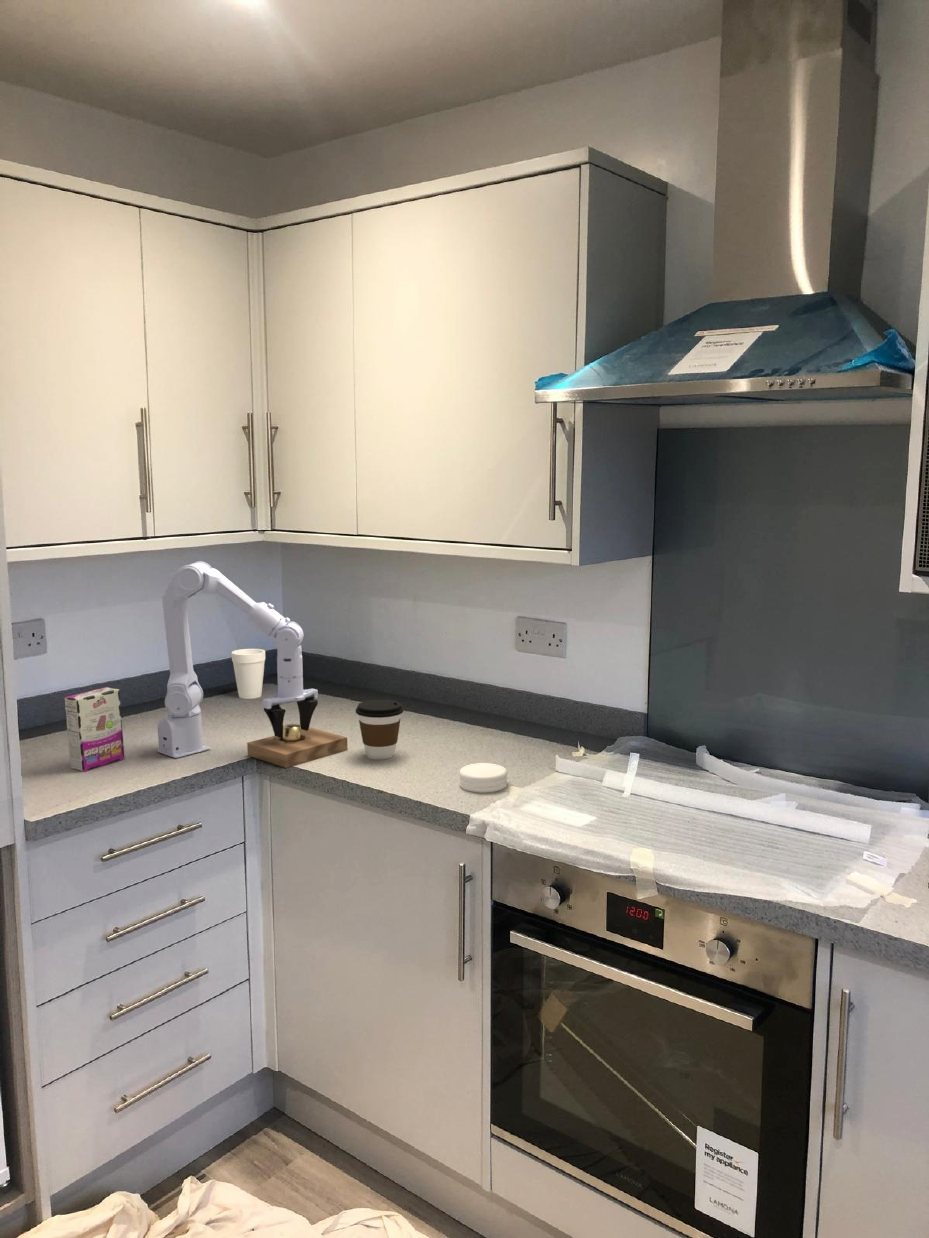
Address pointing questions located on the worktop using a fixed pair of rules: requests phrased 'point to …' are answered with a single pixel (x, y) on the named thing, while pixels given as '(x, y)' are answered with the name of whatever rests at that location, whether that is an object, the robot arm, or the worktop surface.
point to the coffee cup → (379, 727)
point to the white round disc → (483, 777)
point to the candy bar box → (94, 728)
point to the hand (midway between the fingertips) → (291, 733)
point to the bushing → (291, 733)
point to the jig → (297, 747)
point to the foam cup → (249, 672)
